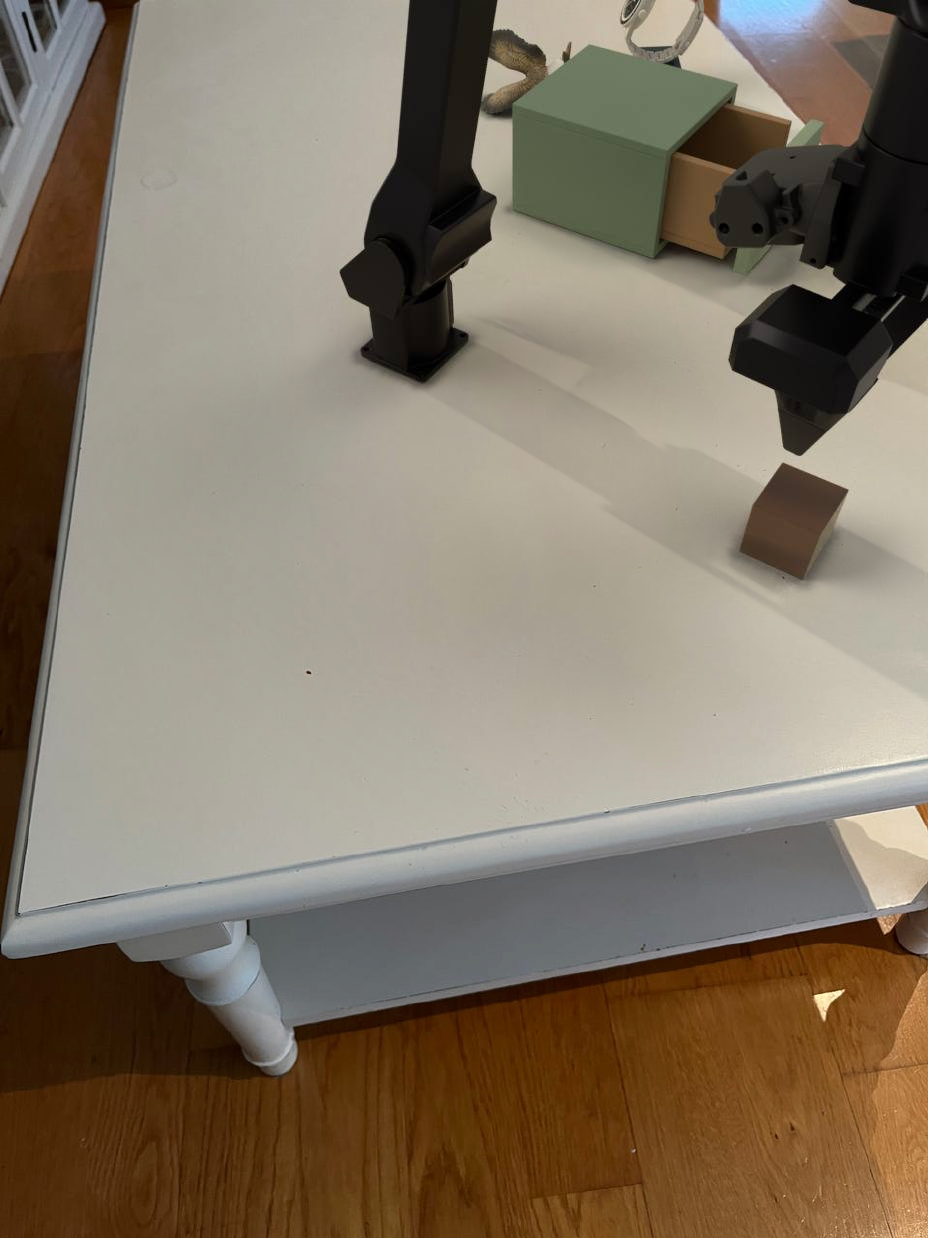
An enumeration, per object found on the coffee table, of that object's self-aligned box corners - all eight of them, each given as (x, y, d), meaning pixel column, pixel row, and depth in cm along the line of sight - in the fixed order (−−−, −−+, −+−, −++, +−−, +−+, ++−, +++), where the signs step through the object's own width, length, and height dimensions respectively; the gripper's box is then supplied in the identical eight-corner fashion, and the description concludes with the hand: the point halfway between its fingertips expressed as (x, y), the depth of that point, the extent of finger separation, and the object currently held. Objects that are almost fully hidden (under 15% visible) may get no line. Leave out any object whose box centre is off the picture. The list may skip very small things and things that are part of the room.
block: (802, 580, 63) (820, 534, 59) (738, 551, 64) (752, 504, 61) (830, 536, 65) (849, 489, 61) (767, 508, 66) (782, 461, 63)
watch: (612, 78, 103) (621, -39, 94) (688, 76, 102) (705, -43, 94) (616, 105, 99) (626, -15, 91) (695, 102, 99) (713, -18, 90)
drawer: (848, 224, 84) (876, 135, 78) (794, 292, 79) (819, 203, 72) (665, 168, 90) (677, 81, 84) (603, 227, 85) (611, 140, 79)
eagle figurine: (562, 66, 102) (478, 53, 101) (580, 21, 95) (490, 7, 94) (558, 135, 102) (474, 124, 101) (575, 96, 95) (485, 83, 94)
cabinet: (718, 190, 89) (738, 83, 82) (653, 258, 84) (667, 150, 76) (582, 147, 95) (589, 43, 87) (511, 209, 89) (512, 103, 81)
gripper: (859, 7, 49) (788, 275, 62) (654, 165, 41) (621, 435, 54) (1082, 67, 45) (956, 342, 57) (900, 257, 37) (801, 528, 49)
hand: (833, 405), depth 55 cm, fingers open, 9 cm apart
